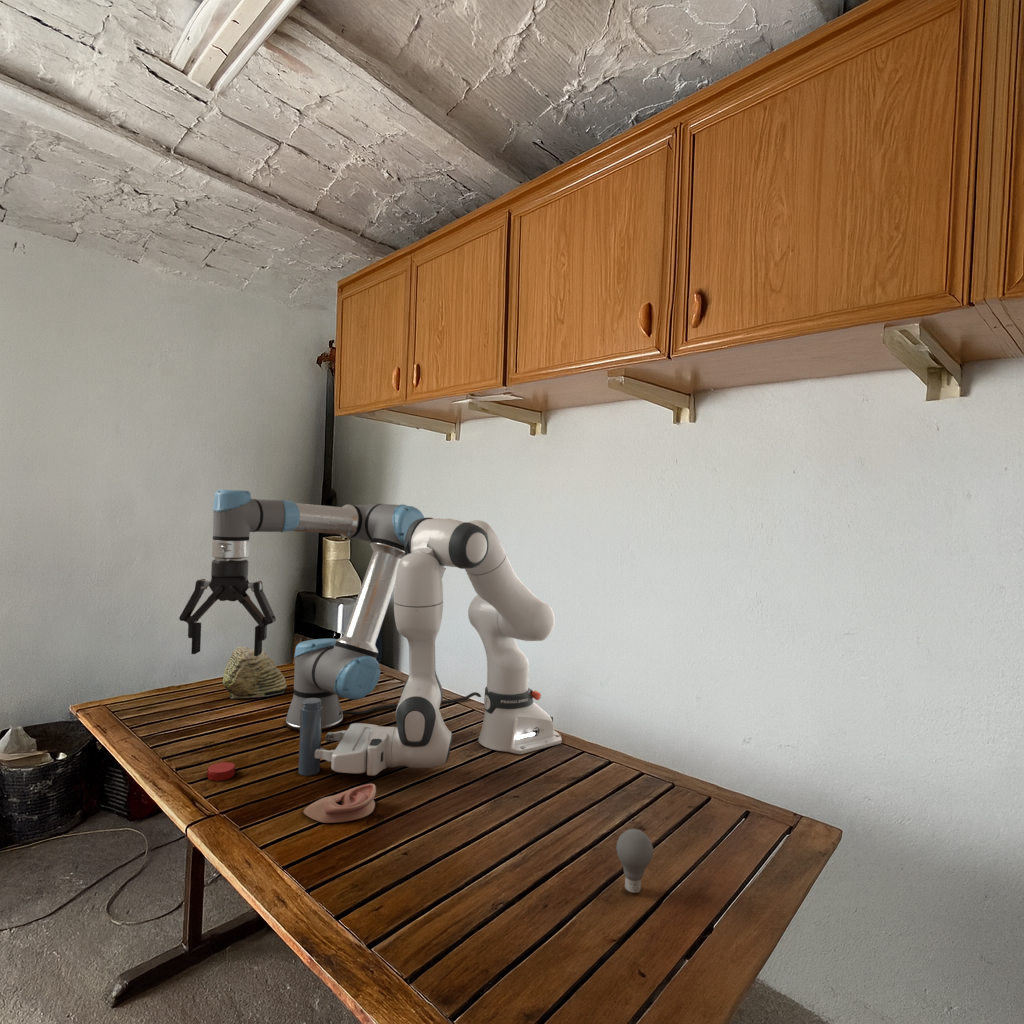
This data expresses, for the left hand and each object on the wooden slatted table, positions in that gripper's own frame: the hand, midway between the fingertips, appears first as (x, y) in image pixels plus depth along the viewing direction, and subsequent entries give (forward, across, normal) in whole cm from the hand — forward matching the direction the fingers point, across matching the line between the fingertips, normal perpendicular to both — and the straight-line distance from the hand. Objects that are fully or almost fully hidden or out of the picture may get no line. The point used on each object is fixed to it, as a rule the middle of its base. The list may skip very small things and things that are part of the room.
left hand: (226, 653), depth 141 cm
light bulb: (+27, +83, -40) cm, 97 cm away
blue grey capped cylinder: (+27, +18, +3) cm, 33 cm away
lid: (+26, 0, 0) cm, 26 cm away
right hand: (+21, +21, +3) cm, 30 cm away
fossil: (+27, -13, +57) cm, 64 cm away
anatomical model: (+27, +29, -15) cm, 43 cm away
